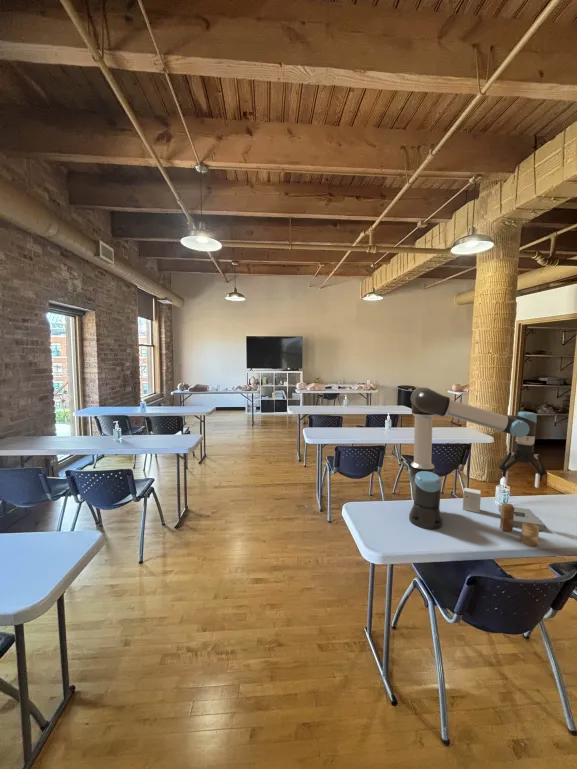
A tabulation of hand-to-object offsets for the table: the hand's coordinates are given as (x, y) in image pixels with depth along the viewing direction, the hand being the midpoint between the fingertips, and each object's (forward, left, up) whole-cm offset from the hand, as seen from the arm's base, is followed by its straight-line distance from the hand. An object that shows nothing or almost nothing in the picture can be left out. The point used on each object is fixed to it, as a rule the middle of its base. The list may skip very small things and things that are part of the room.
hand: (520, 485), depth 167 cm
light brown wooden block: (-3, -23, -18) cm, 29 cm away
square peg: (-9, -13, -18) cm, 24 cm away
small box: (-20, +6, -19) cm, 28 cm away
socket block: (+1, +1, -18) cm, 18 cm away
